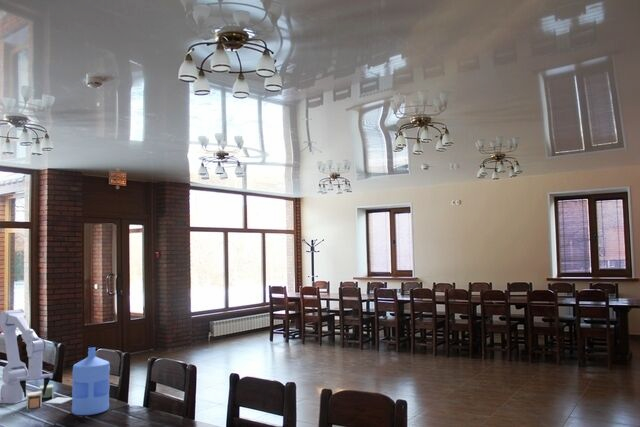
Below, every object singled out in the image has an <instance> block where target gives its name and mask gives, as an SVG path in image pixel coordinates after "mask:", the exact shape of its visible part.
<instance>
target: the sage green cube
mask: <svg viewBox="0 0 640 427" xmlns="http://www.w3.org/2000/svg"><path fill="white" fill-rule="evenodd" d="M43 388H44V384H43V385H39V391H42V399H46V398H51V400H52V399H54V394H55V393H54V390H55V389H54V383H53V384H48V385H47V388H46V391H45V395H43Z"/></svg>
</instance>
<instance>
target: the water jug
mask: <svg viewBox="0 0 640 427" xmlns="http://www.w3.org/2000/svg"><path fill="white" fill-rule="evenodd" d="M96 352H97V351H96V347H94V346H93V347H88V351H87V354H88V355H87V356H86V357H85V358H84V359H81V360H80V361H78V362H77V363H75V364H73V366H72V388H71V393H72V396H71V398H72V400H71V401H72V402H71V409H70V410H71V413H72V414H73V415H76V416H92V415H97V414H101V413H104V412H106V411H108V410H109V408H110V388H111V387H110V386H111V385H110V371H111V365H110V361H108V360H106V359H103V358H101V357H98V356H96Z"/></svg>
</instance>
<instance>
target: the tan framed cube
mask: <svg viewBox="0 0 640 427" xmlns="http://www.w3.org/2000/svg"><path fill="white" fill-rule="evenodd" d="M38 396H39V408H42V404H43V403H42V401H43V400H42V399H43V398H42V391H40V390H39V391H31V392H26V398H27V400H26V409H27V410H28V409H29V400H30V397H38Z"/></svg>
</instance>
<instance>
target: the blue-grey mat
mask: <svg viewBox="0 0 640 427" xmlns="http://www.w3.org/2000/svg"><path fill="white" fill-rule="evenodd" d="M70 401H72V397H61V396H60V397H58V396H57V397H55V398H54V397H53V399H52V398H51V399H49V400H47V401H44V404H49V405H50V404H53V405H62V404H65V403H68V402H70Z"/></svg>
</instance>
